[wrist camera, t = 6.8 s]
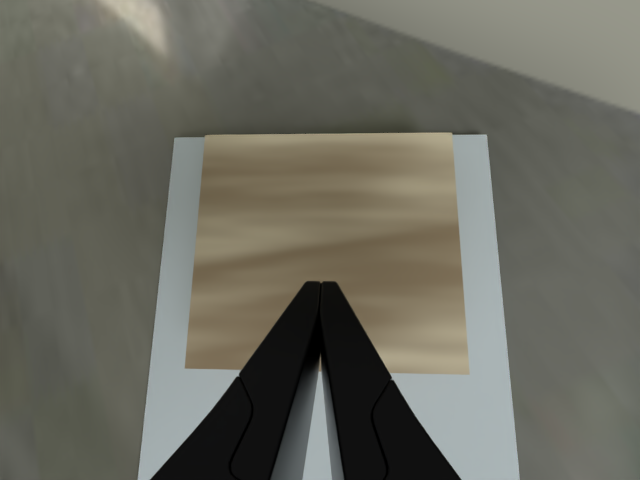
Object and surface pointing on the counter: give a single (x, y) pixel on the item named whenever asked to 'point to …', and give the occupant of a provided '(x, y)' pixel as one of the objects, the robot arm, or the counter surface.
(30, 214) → the counter surface
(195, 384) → the light gray mat
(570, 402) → the counter surface
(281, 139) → the birch tile
